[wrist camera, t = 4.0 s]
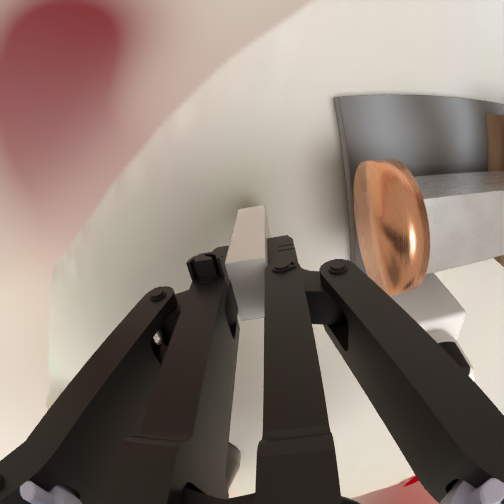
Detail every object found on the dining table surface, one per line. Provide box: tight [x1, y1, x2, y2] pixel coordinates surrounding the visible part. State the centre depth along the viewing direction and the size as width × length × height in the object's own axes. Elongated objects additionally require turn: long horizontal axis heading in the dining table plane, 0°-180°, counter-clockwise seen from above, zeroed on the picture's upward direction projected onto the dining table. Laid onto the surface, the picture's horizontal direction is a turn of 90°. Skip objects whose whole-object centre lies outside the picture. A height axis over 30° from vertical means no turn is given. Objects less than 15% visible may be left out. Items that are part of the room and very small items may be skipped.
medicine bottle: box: [390, 273, 476, 381], centre depth 19 cm, size 7×7×12 cm
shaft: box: [354, 159, 504, 296], centre depth 13 cm, size 18×7×7 cm, turn 101°
